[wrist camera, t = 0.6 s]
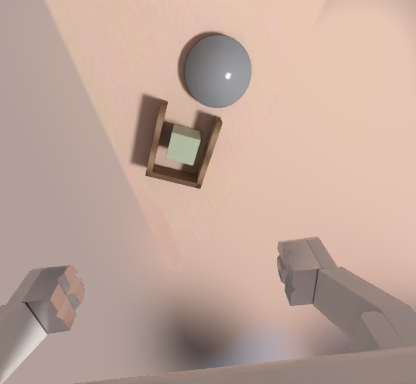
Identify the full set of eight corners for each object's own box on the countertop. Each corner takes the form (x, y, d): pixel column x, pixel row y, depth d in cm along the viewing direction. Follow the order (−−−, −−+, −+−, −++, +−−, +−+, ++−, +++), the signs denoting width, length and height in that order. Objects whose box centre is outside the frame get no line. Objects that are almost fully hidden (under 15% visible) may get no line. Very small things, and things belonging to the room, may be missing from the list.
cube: (174, 123, 49) (172, 132, 44) (200, 130, 50) (200, 140, 45) (168, 147, 51) (165, 158, 47) (192, 154, 52) (192, 165, 48)
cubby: (162, 100, 46) (160, 105, 43) (220, 117, 48) (222, 123, 45) (148, 167, 53) (145, 175, 50) (199, 180, 55) (200, 188, 52)
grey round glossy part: (194, 24, 41) (195, 24, 40) (260, 48, 43) (262, 48, 42) (177, 95, 46) (177, 97, 45) (236, 113, 48) (237, 115, 47)
